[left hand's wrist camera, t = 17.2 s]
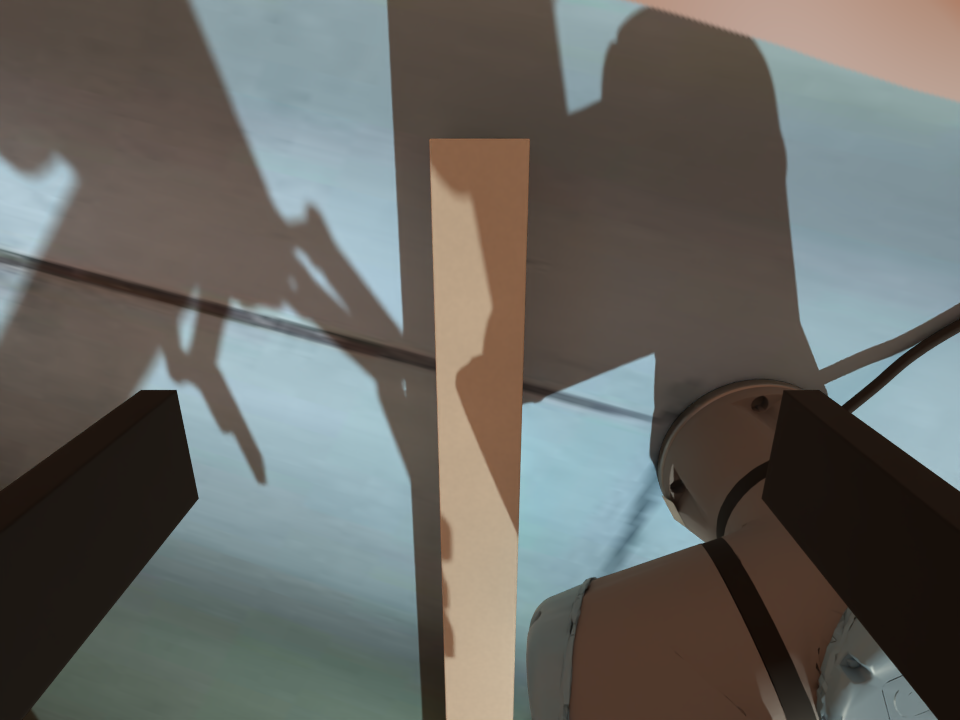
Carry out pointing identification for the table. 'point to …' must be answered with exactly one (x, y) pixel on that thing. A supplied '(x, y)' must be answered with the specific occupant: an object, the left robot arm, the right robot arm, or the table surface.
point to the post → (479, 410)
